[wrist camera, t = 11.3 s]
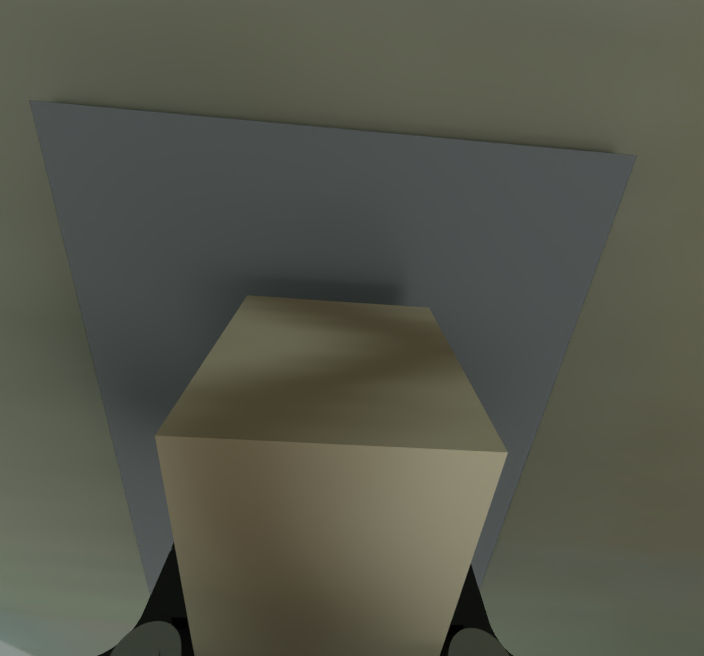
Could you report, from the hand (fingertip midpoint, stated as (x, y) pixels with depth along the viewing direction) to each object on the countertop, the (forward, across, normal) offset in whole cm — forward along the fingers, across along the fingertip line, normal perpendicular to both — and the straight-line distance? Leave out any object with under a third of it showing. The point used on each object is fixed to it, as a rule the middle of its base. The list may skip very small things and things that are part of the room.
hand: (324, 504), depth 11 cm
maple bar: (+1, 0, 0) cm, 1 cm away
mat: (+3, 0, 0) cm, 3 cm away
